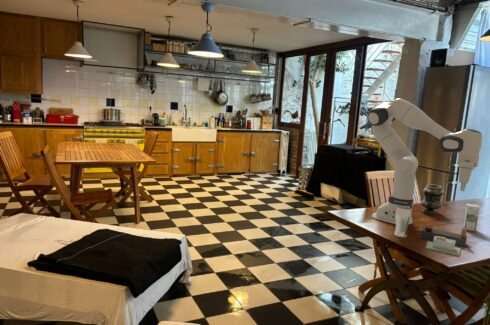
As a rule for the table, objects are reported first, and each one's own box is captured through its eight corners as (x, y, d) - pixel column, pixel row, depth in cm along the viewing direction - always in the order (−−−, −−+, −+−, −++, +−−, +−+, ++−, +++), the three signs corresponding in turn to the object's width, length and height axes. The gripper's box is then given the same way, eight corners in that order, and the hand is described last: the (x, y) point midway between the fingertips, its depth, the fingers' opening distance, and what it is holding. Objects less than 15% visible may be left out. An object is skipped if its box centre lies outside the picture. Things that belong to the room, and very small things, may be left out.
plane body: (420, 237, 186) (422, 222, 184) (421, 233, 192) (423, 219, 190) (465, 247, 175) (467, 231, 174) (465, 243, 181) (468, 228, 180)
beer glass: (395, 232, 192) (399, 204, 190) (409, 235, 188) (413, 207, 186) (391, 235, 187) (394, 207, 185) (405, 238, 183) (409, 210, 180)
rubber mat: (425, 248, 171) (425, 247, 171) (427, 242, 180) (427, 241, 180) (459, 256, 164) (459, 254, 164) (460, 249, 172) (460, 248, 172)
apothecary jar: (439, 216, 226) (443, 188, 223) (418, 212, 232) (422, 185, 229) (441, 212, 236) (445, 185, 233) (420, 208, 242) (424, 182, 240)
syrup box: (473, 228, 205) (477, 204, 203) (475, 232, 200) (479, 206, 197) (462, 227, 207) (466, 202, 205) (464, 230, 202) (468, 205, 200)
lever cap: (432, 246, 172) (433, 237, 171) (433, 243, 176) (434, 234, 176) (453, 251, 167) (455, 242, 167) (454, 248, 172) (455, 238, 171)
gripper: (461, 159, 188) (457, 184, 190) (458, 163, 171) (454, 191, 173) (475, 160, 185) (470, 187, 187) (474, 165, 168) (469, 194, 170)
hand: (462, 189), depth 180 cm, fingers open, 8 cm apart
